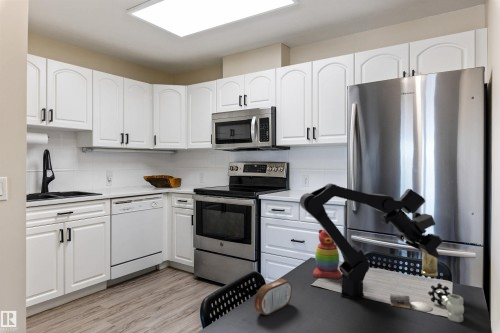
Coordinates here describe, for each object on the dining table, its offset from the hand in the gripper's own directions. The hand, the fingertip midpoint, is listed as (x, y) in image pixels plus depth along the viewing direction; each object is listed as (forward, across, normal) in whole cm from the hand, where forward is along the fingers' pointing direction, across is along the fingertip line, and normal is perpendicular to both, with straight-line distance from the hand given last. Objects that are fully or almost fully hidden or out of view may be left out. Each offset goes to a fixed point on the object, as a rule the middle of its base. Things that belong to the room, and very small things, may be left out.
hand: (433, 254), depth 108 cm
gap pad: (+2, -10, +17) cm, 20 cm away
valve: (+6, -14, +13) cm, 20 cm away
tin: (-30, -9, +49) cm, 58 cm away
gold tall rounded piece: (+4, 0, +6) cm, 7 cm away
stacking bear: (-13, +20, +31) cm, 39 cm away
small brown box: (-2, -8, +21) cm, 22 cm away
